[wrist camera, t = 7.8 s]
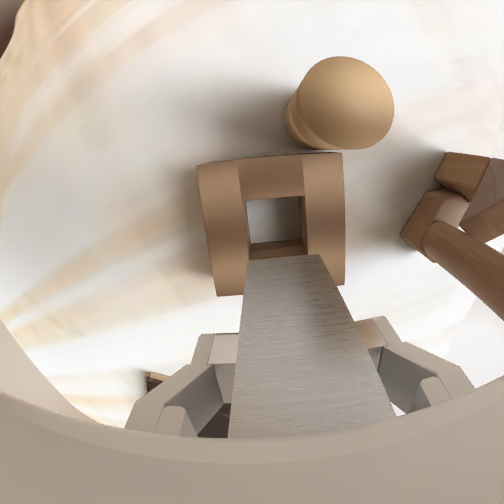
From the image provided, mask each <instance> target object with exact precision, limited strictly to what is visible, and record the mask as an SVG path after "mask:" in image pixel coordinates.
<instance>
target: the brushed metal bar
mask: <svg viewBox="0 0 504 504" xmlns="http://www.w3.org/2000/svg"><path fill="white" fill-rule="evenodd" d="M394 417H396V414H395V412H394V409H393V407H392V405H391V402H390V400H389V397H388V395H387V393H386V390H385V388H384V386H383V383H382V381H381V379H380V377H379V374H378V372H377V370H376V368H375V365H374V363H373V361H372V359H371V356H370V354H369V352H368V350H367V348H366V346H365V343H364V341H363V339H362V337H361V335H360V333H359V331H358V329H357V327H356V325H355V322H354V320H353V318H352V316H351V314H350V312H349V310H348V308H347V306H346V304H345V302H344V300H343V298H342V296H341V294H340V292H339V290H338V288H337V286H336V284H335V283H334V281H333V279H332V277H331V275H330V273H329V271H328V269H327V267H326V265H325V263H324V262H323V260H322V258H321V256H320V254H313V255H302V256H292V257H281V258H270V259H259V260H248V261H247V269H246V278H245V286H244V295H243V304H242V313H241V322H240V330H239V339H238V348H237V357H236V366H235V375H234V384H233V393H232V402H231V412H230V421H229V430H228V438H266V437H282V436H293V435H303V434H312V433H319V432H326V431H333V430H339V429H345V428H350V427H355V426H360V425H365V424H370V423H374V422H378V421H382V420H386V419H390V418H394Z"/></svg>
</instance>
